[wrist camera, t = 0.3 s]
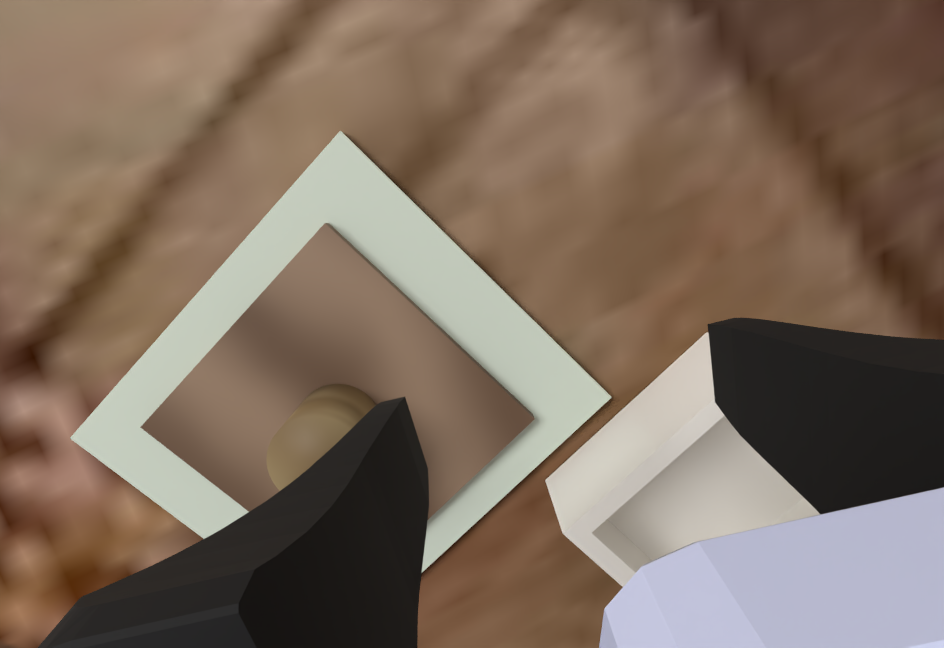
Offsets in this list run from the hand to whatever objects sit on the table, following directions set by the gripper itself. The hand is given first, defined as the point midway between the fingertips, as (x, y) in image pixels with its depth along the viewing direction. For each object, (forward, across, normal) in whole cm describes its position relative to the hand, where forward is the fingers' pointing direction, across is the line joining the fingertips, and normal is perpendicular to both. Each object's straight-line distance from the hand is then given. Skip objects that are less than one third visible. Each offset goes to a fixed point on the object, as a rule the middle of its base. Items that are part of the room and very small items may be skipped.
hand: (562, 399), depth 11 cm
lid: (+9, +9, +4) cm, 13 cm away
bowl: (+9, -6, +11) cm, 16 cm away
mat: (+10, +9, +4) cm, 14 cm away
